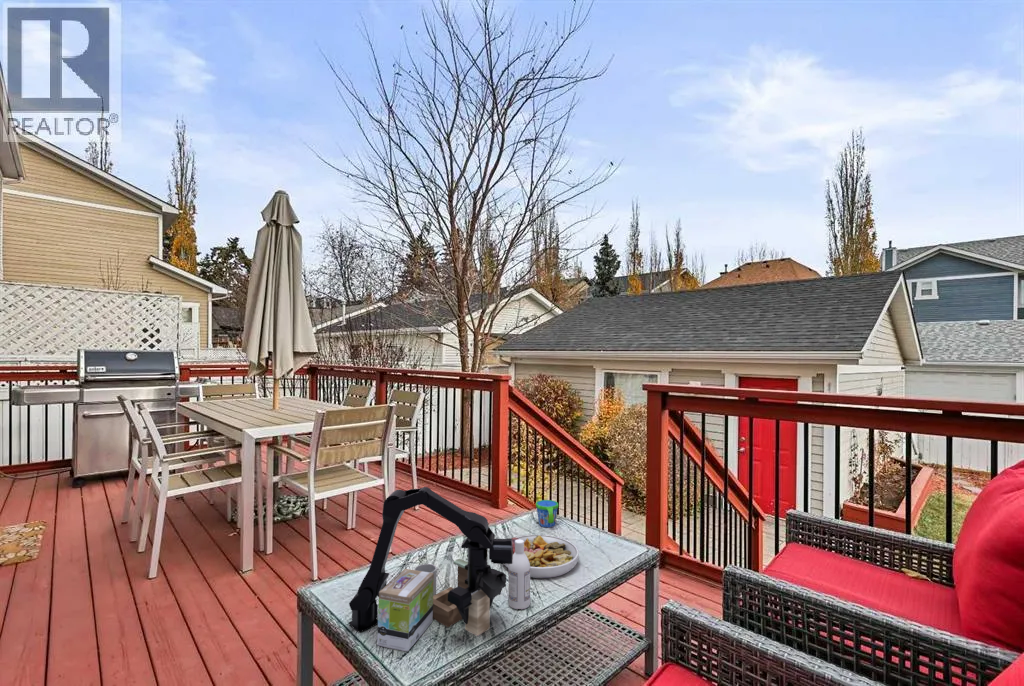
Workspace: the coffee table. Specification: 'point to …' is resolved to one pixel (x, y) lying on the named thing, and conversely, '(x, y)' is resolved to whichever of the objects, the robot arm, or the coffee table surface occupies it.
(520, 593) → the bath foam
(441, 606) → the socket block
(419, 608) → the tea box
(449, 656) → the coffee table surface
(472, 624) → the peg
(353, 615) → the robot arm
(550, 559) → the bowl
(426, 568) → the cup
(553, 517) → the snack cup
